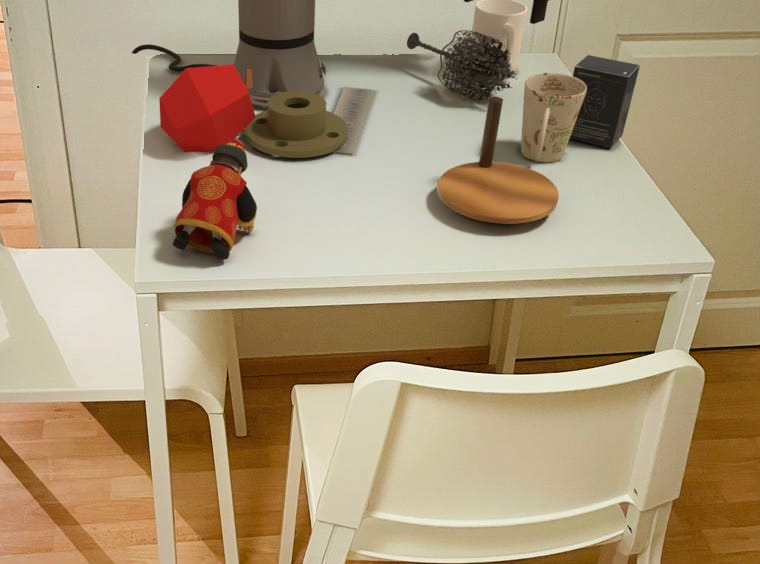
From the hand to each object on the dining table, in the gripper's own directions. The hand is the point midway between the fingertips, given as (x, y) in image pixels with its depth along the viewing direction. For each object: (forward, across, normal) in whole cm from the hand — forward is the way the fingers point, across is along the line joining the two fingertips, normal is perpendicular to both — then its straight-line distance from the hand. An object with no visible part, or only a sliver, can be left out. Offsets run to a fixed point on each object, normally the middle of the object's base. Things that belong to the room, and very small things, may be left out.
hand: (503, 10), depth 151 cm
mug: (+10, +25, -20) cm, 34 cm away
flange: (+7, +5, -39) cm, 40 cm away
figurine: (+9, +16, -73) cm, 75 cm away
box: (+10, +25, -8) cm, 28 cm away
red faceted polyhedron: (+7, -12, -59) cm, 61 cm away
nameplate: (+10, 0, -30) cm, 32 cm away
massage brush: (+1, 0, -12) cm, 13 cm away
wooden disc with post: (+8, +30, -35) cm, 47 cm away
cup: (+10, 0, 0) cm, 10 cm away
